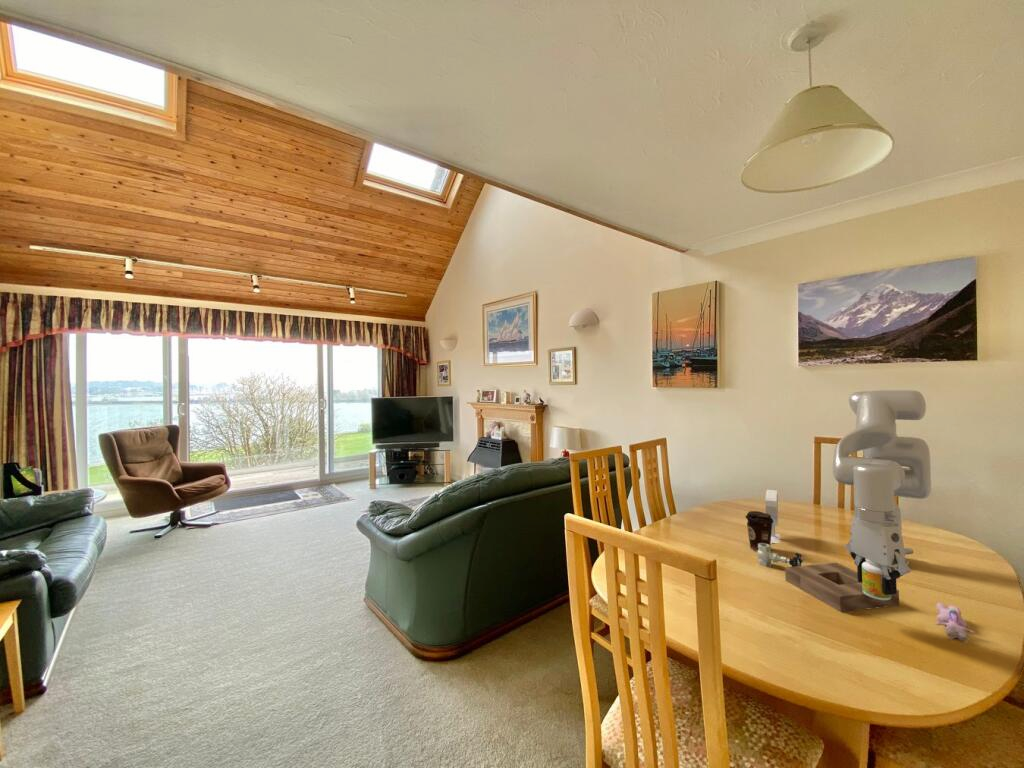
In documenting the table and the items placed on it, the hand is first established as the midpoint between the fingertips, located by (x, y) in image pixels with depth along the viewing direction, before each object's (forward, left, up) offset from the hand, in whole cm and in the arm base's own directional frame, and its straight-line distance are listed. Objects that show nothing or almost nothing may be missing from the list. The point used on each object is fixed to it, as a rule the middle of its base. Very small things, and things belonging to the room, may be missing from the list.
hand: (876, 586), depth 102 cm
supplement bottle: (0, 0, -2) cm, 2 cm away
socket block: (-5, -16, -9) cm, 19 cm away
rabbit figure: (-16, +5, -10) cm, 19 cm away
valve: (-1, -33, -10) cm, 34 cm away
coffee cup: (-6, -48, -9) cm, 49 cm away
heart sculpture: (-19, -57, -9) cm, 61 cm away
